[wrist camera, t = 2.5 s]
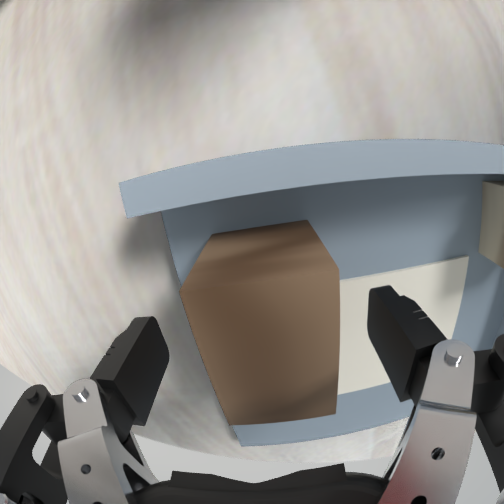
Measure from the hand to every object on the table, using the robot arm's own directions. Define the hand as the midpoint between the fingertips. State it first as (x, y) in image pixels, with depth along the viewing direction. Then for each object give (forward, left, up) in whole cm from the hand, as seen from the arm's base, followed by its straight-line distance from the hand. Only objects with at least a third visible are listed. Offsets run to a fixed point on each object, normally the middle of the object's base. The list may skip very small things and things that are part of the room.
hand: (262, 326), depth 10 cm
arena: (-7, +4, -4) cm, 9 cm away
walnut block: (0, 0, -3) cm, 3 cm away
